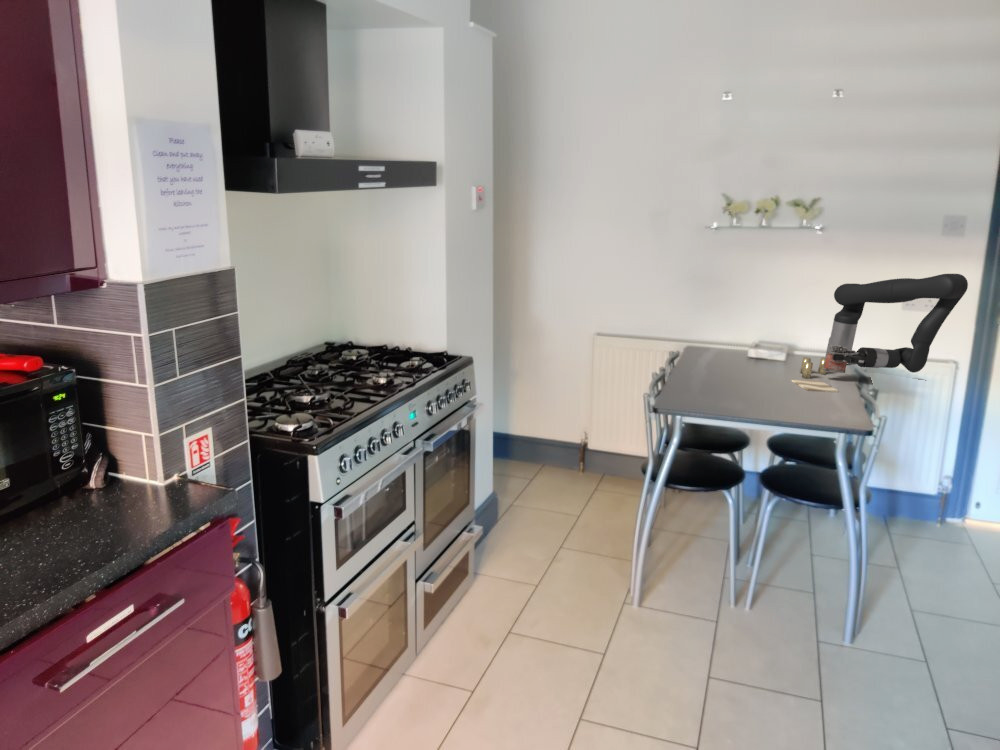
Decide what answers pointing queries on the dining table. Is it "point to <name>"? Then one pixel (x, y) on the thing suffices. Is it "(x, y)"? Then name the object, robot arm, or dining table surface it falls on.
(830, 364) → the lighter
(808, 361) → the spacer posts
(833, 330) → the robot arm
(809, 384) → the pad
